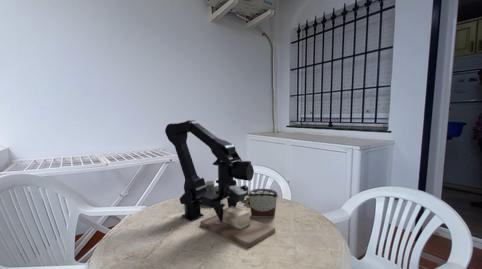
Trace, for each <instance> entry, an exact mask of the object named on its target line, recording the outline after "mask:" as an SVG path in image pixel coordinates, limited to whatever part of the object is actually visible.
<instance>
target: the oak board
mask: <svg viewBox="0 0 482 269" xmlns="http://www.w3.org/2000/svg"><path fill="white" fill-rule="evenodd" d="M199 224H200V226H201V227H203V228H205V229H208V230H210V231H212V232H214V233H216V234H218V235H220V236H222V237H225V238H227V239H228V240H231V241H232V242H236V243H237V244H240V245H242V246H243V247H245V248H248V249H249V248H252V247H253V246H256V245H257V244H259V243H260V242H262V241H263V240H265V239H267V238H268V237H269V236H271V235H272V234H275V233H276V227H274V226H270V225H269V224H265V223H263V222H260V221H257V220H254V219H251V218H250V226H249V227H247V228H244V229H242V230H238V229H235V228H233V227H231V226H228V225H226V224H224V223H222V221H220V220H219V218H218V216H217V214H215V215H213V216H210V217H207V218H205V219H203V220H201V221H200V222H199Z"/></svg>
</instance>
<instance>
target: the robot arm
mask: <svg viewBox="0 0 482 269" xmlns="http://www.w3.org/2000/svg"><path fill="white" fill-rule="evenodd" d="M164 130H165V131H164V133H165V136H166V137H167V139H168V141H169V142H170V143H171V144H172V146H174V149H175V151H176V155H177V158H178V161H179V165H180V168H181V171H182V174H183V176H184V184H183V191H184V193H183V194H182V195H181V196H180V197H179V202H180V204H181V205H184V214H181V217H182V218H183V219H186V220H188V221H193V220H196V219H199V218H201V217H204V214H203V213H202V212H201V205H202V206H205V207H207V208H210V209H212V208H213V210H214V212H215V215H217V216H218V218H219V220H220V221H222V220H223V209H224V207H225V206H226V204H225V203H224V201H223V200H227V208H228V207H231V206H234V207H237V203H238V202H239V201H243V200H244V199H246V197H249V196H248V193H249V186H248V185H246V184H243V185H238V184H237V181H236V180H240V181H242V180H243V181H252V180H253V178H254V175H255V174H254V172H255V169H254V166H253V164H252V161H251V160H242V157H241V156H240V155H239V154H238V152H237V151H236V146H235V145H234V144H233V143H231V142H229V141H227V140H224V139H221V138H218V137H217V136H216V135H215V134H213V133H212V132H211V131H209V130H208V129H206V128H205V127H203V125H201V124H200V123H199V122H198V121H197V120H192V119H191V120H186V121H183V122H177V123H176V122H175V123H169V124H166V127H165V129H164ZM188 133H191V134H192V135H193V136H195V137H196V138H197V139H199V140H200V141H201V142H203V143H204V144H205V145H206V146H207V147H209V148H210V151H211V153H212V154H213V156H215V158H216V159H215V161H214V162H212V166H217V179H215V183H216V184H218V185H217V186H218V191H216V194H219V196H214V195H207V196H204V195H205V193H206V187H207V186H206V184H205V182H206V181H205V178H204V177H201V178H200V176H198V174H197V171H196V168H195V164H194V162H193V159H192V155H191V153H190V150H189V147H188V142H187V140H188ZM200 200H202V203H200V202H199V201H200ZM238 204H239V203H238Z"/></svg>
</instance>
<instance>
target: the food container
mask: <svg viewBox="0 0 482 269" xmlns="http://www.w3.org/2000/svg"><path fill="white" fill-rule="evenodd" d="M247 197H249V200H250V205H249V208H250V218H251V217H255V218H275V217H276V208H277V199H278V198H279V195H278V192H277V191H276V190H275V189H274V190H273V189H270V188H255V189H250V190H248V196H247Z"/></svg>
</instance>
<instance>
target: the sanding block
mask: <svg viewBox="0 0 482 269" xmlns="http://www.w3.org/2000/svg"><path fill="white" fill-rule="evenodd" d="M250 219H251V211H248V210H245V209H242V208H239V207H238V206H236V207H234V206H231V207H228V206H227V207H225V208H223V220H222V223H224V224H226V225H228V226H231V227H233V228H235V229H238V230H242V229H244V228H247V227H249V226H250Z"/></svg>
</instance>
